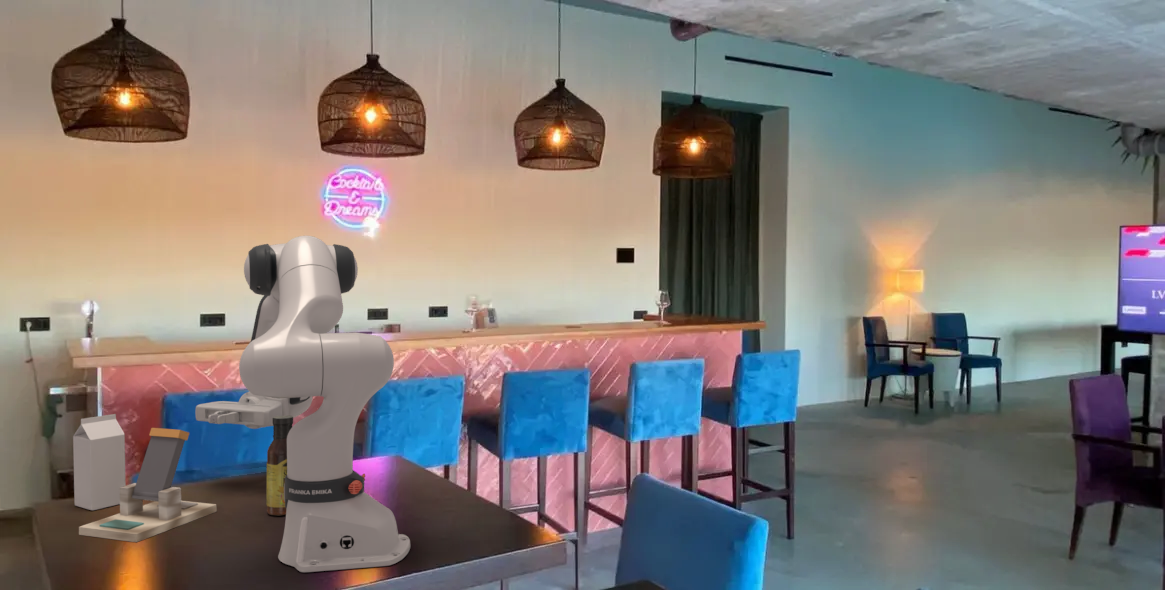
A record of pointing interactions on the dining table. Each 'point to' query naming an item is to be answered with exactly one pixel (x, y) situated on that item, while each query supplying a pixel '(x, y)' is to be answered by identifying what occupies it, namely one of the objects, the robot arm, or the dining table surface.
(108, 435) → the milk carton
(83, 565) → the dining table surface
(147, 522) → the switch base
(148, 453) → the rocker lever
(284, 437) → the sauce bottle
